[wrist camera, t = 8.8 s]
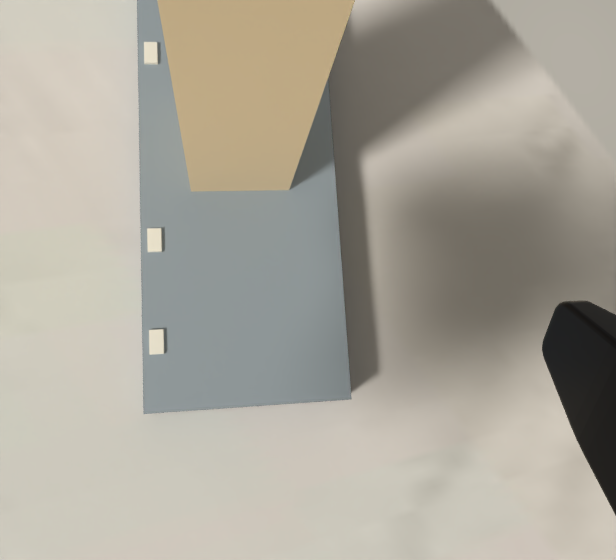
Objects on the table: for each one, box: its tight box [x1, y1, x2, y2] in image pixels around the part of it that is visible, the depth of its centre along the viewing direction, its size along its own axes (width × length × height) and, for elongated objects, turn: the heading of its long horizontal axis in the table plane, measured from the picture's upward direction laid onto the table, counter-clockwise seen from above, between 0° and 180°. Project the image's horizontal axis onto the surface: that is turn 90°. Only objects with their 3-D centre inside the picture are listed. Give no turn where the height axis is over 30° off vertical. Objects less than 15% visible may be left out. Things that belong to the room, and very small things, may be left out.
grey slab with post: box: [137, 0, 355, 414], centre depth 12 cm, size 16×6×14 cm, turn 3°
